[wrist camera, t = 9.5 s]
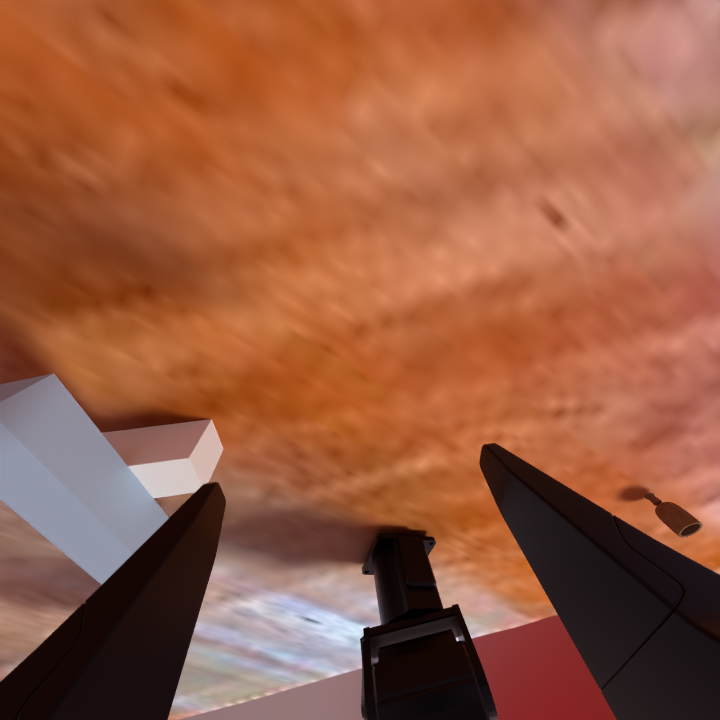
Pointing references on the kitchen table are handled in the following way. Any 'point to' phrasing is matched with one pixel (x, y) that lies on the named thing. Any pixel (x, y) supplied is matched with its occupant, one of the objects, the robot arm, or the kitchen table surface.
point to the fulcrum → (169, 455)
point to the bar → (70, 478)
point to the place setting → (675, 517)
